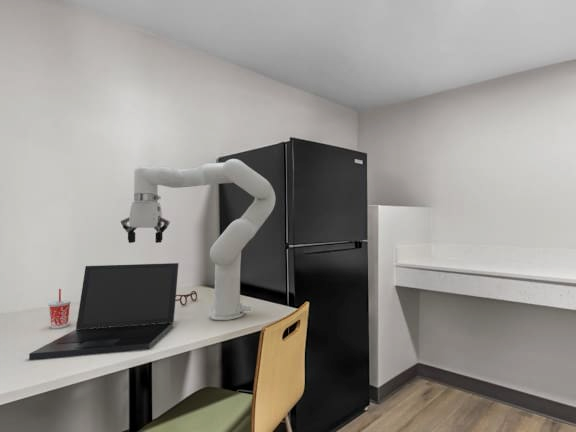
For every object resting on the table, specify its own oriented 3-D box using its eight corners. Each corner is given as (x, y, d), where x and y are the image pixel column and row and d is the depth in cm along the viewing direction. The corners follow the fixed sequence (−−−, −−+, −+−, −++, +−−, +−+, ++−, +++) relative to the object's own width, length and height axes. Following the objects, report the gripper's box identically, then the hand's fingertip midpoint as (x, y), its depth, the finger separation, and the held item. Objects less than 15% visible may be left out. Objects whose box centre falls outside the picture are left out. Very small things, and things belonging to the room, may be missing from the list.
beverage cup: (51, 330, 123) (51, 291, 124) (45, 327, 127) (45, 289, 127) (73, 325, 129) (73, 288, 129) (67, 323, 132) (67, 286, 132)
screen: (177, 263, 132) (178, 263, 133) (85, 265, 125) (86, 266, 125) (172, 322, 127) (173, 322, 128) (75, 329, 119) (77, 329, 120)
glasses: (181, 307, 155) (181, 296, 155) (153, 307, 155) (153, 296, 155) (197, 300, 168) (197, 290, 168) (171, 300, 169) (171, 289, 169)
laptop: (149, 349, 106) (149, 343, 106) (29, 360, 98) (29, 353, 98) (172, 327, 127) (172, 322, 127) (75, 334, 119) (75, 329, 119)
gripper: (174, 199, 139) (173, 241, 139) (127, 198, 137) (127, 241, 137) (164, 198, 131) (164, 243, 131) (115, 197, 129) (114, 243, 129)
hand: (145, 242), depth 134 cm, fingers open, 9 cm apart
